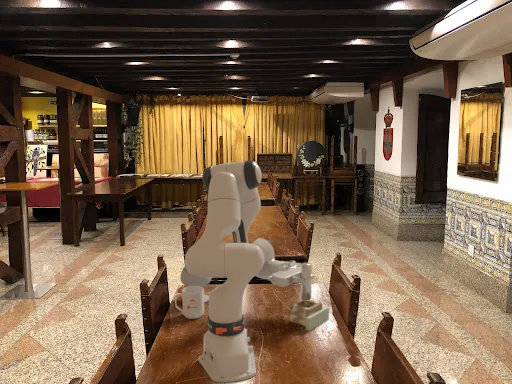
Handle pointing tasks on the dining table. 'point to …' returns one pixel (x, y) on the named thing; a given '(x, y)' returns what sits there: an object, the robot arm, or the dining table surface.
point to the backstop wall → (317, 318)
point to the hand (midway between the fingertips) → (308, 279)
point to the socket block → (303, 310)
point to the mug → (192, 302)
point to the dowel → (306, 281)
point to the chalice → (194, 281)
